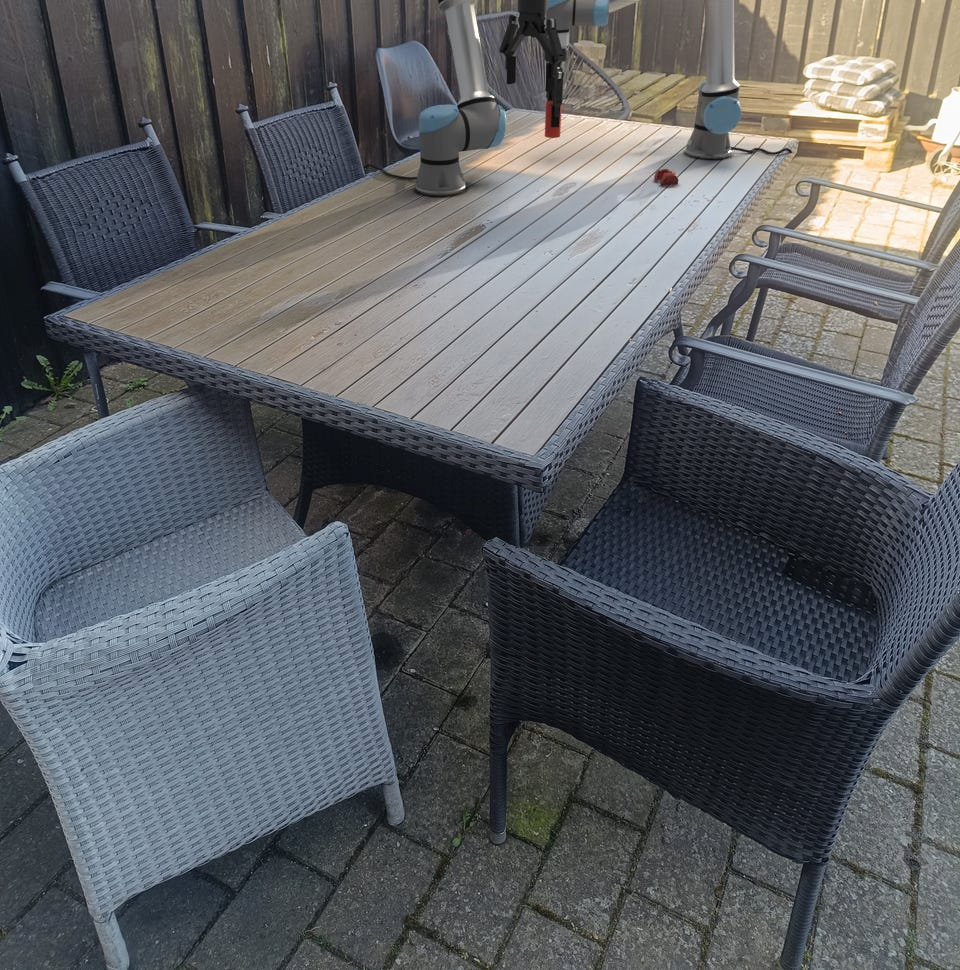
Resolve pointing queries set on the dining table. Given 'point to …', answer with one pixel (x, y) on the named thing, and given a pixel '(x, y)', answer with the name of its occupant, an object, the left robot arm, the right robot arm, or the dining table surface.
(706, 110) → the right robot arm
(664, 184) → the red lumpy piece
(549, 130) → the canister
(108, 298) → the dining table surface
